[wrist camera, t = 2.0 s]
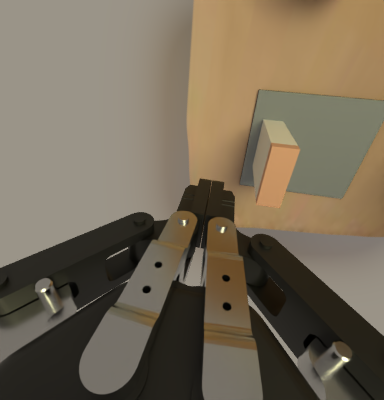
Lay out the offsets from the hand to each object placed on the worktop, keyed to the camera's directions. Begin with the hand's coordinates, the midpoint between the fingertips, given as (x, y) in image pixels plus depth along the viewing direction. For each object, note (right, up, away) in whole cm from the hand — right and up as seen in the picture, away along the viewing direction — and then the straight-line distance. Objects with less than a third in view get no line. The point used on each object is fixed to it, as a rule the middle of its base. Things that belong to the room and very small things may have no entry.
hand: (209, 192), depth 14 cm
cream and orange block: (+11, +9, +23) cm, 27 cm away
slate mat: (+17, +8, +22) cm, 29 cm away
